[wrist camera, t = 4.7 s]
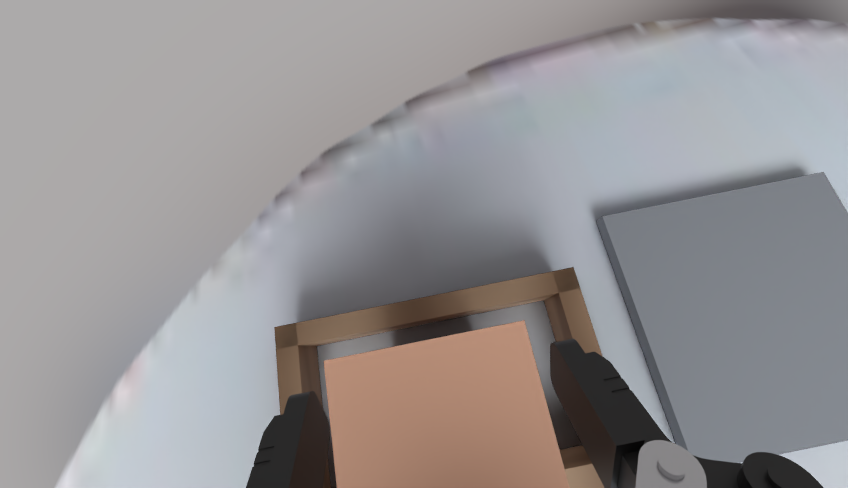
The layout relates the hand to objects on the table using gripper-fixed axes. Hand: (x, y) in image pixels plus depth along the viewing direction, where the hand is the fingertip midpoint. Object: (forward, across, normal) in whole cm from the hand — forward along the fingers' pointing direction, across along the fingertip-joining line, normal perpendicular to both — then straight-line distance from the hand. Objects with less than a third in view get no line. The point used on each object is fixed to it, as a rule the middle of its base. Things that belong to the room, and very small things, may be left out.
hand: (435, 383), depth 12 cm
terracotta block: (+4, 0, +5) cm, 6 cm away
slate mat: (+4, -16, +4) cm, 17 cm away
